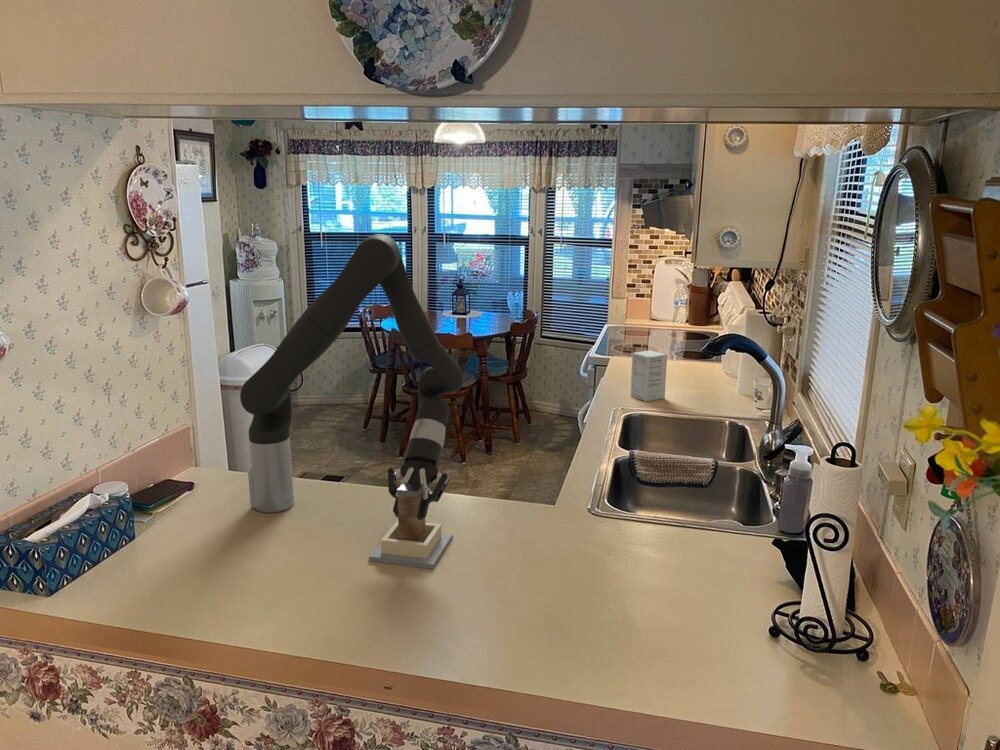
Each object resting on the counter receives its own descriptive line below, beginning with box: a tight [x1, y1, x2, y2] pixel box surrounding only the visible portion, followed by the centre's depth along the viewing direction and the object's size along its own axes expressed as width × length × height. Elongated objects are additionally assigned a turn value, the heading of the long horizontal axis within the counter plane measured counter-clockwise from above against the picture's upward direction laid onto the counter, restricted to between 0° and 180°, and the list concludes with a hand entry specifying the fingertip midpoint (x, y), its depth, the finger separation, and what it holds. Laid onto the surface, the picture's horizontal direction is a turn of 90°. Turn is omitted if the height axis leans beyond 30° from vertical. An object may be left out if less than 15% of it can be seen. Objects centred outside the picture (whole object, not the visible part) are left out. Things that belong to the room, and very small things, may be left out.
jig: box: [368, 519, 454, 570], centre depth 156 cm, size 14×14×4 cm
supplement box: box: [630, 350, 668, 402], centre depth 271 cm, size 10×9×17 cm
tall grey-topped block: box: [397, 482, 426, 540], centre depth 155 cm, size 4×4×11 cm
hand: (408, 517), depth 153 cm, fingers closed on tall grey-topped block, 4 cm apart
